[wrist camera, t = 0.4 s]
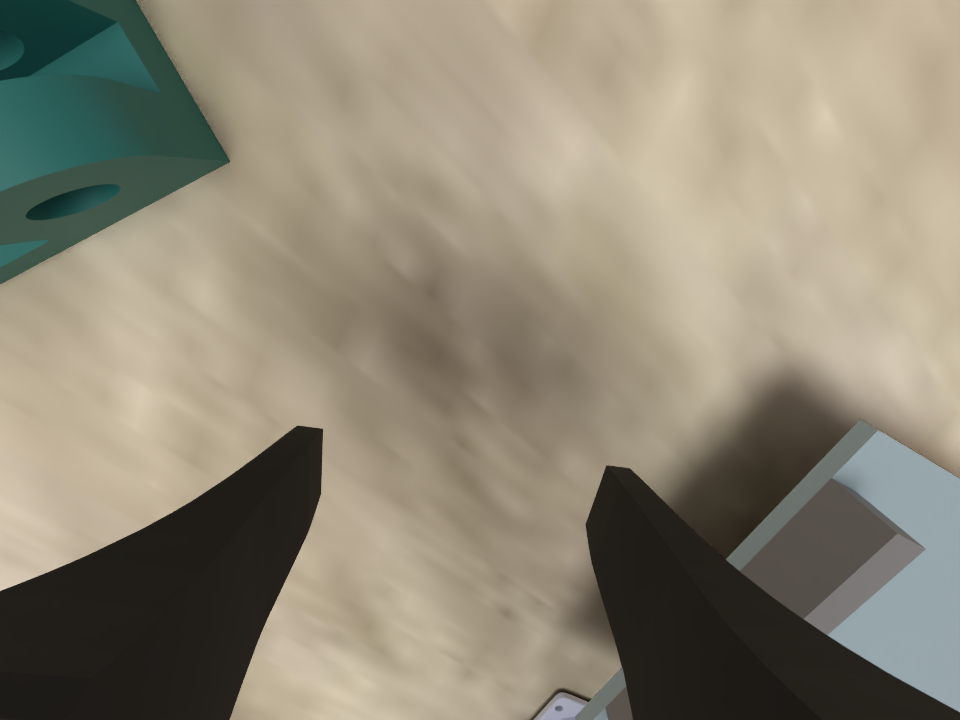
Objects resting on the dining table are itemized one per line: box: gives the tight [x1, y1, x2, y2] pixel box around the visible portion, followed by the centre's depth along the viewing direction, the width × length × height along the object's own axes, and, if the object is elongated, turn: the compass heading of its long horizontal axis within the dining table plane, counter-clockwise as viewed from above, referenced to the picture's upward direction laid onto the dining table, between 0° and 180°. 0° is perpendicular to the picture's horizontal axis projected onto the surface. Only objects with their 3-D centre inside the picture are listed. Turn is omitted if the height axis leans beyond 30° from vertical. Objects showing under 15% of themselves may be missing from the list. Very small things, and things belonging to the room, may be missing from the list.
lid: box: [575, 419, 960, 720], centre depth 19 cm, size 18×14×4 cm
